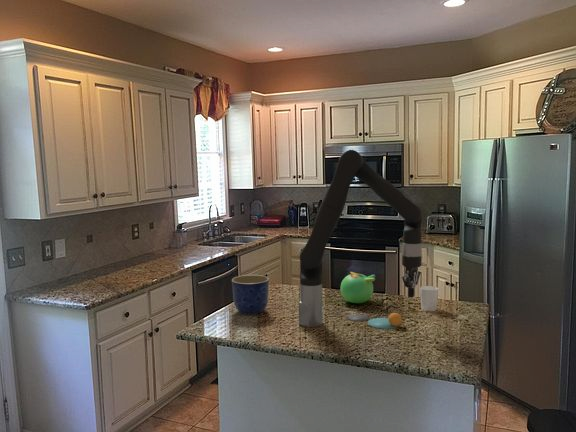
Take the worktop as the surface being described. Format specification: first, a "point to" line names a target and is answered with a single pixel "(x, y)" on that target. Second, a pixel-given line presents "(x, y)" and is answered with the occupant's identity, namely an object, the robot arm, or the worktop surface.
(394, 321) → the ball
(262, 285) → the planter
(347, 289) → the toy bird
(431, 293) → the white cup
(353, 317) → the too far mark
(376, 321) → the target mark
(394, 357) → the worktop surface
